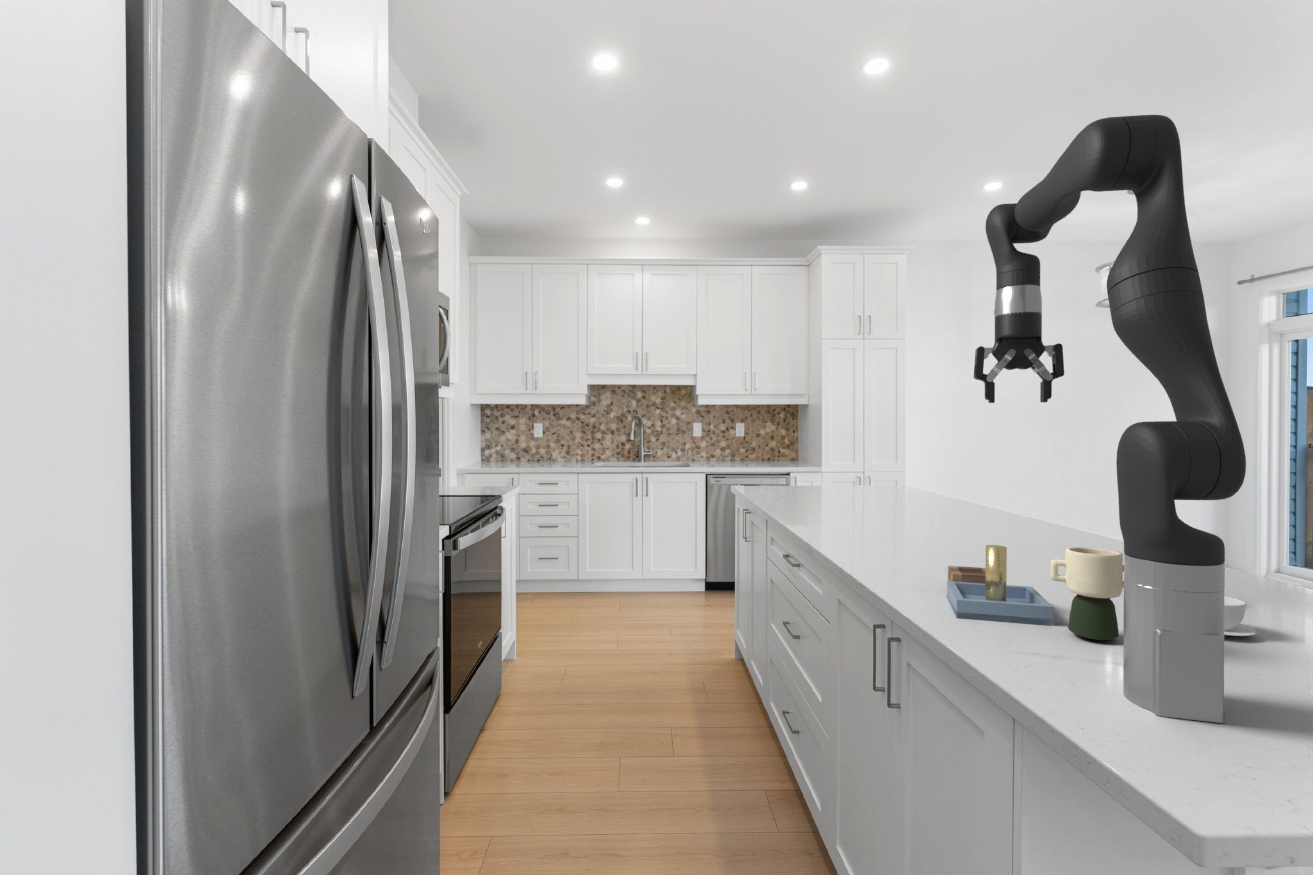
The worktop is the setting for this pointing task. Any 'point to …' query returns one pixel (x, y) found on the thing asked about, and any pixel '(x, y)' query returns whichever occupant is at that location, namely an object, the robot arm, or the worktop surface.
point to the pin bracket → (966, 574)
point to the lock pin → (995, 573)
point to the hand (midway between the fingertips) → (1017, 402)
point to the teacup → (1235, 618)
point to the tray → (999, 604)
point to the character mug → (1092, 589)
